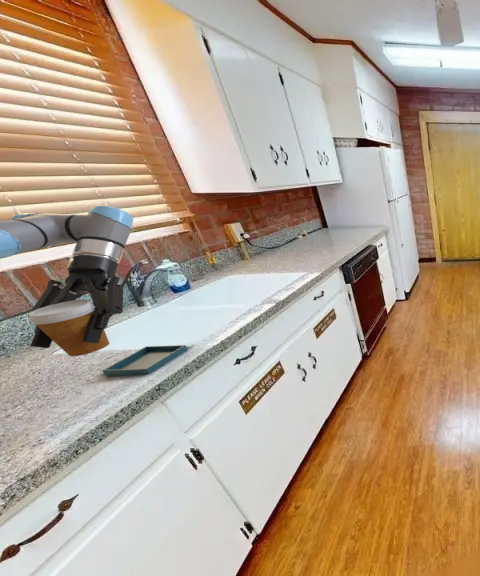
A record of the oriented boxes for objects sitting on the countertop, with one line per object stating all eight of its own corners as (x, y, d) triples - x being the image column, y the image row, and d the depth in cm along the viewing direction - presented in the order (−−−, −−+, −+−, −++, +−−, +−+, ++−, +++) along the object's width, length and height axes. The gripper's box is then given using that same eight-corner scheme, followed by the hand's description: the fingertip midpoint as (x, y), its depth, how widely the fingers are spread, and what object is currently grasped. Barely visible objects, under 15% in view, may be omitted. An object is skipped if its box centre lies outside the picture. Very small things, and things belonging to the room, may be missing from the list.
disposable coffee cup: (79, 343, 77) (50, 302, 72) (129, 335, 80) (104, 296, 75) (44, 364, 69) (8, 320, 64) (101, 355, 72) (72, 312, 67)
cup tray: (105, 376, 84) (101, 370, 83) (149, 351, 95) (146, 346, 94) (149, 374, 85) (146, 369, 84) (188, 350, 96) (185, 345, 95)
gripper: (159, 263, 83) (137, 341, 76) (61, 269, 79) (27, 352, 71) (132, 251, 77) (104, 335, 69) (23, 256, 72) (-19, 347, 64)
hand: (65, 344), depth 70 cm, fingers closed on disposable coffee cup, 9 cm apart
